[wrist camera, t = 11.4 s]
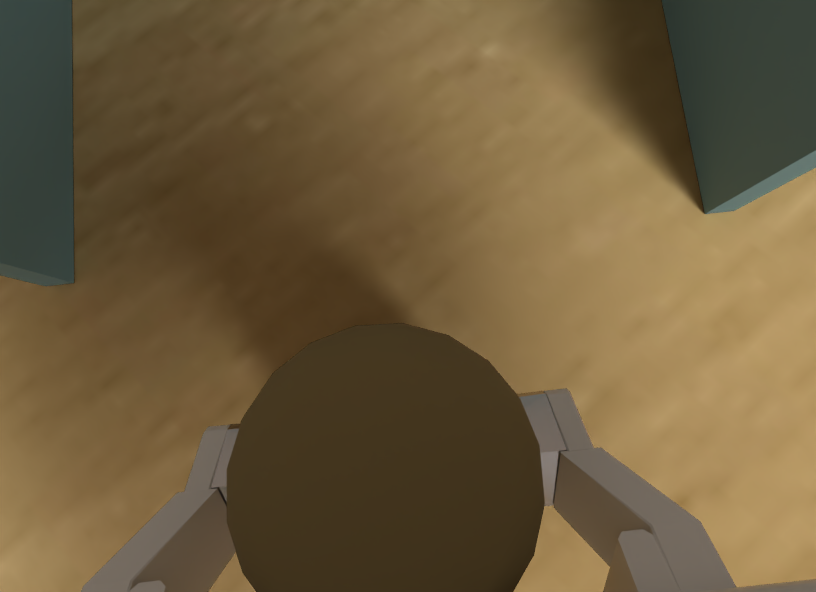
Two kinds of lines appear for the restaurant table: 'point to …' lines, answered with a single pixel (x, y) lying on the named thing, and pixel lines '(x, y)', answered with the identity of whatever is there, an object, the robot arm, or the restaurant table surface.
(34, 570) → the restaurant table surface
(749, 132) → the folding screen
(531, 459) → the cork
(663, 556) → the robot arm
